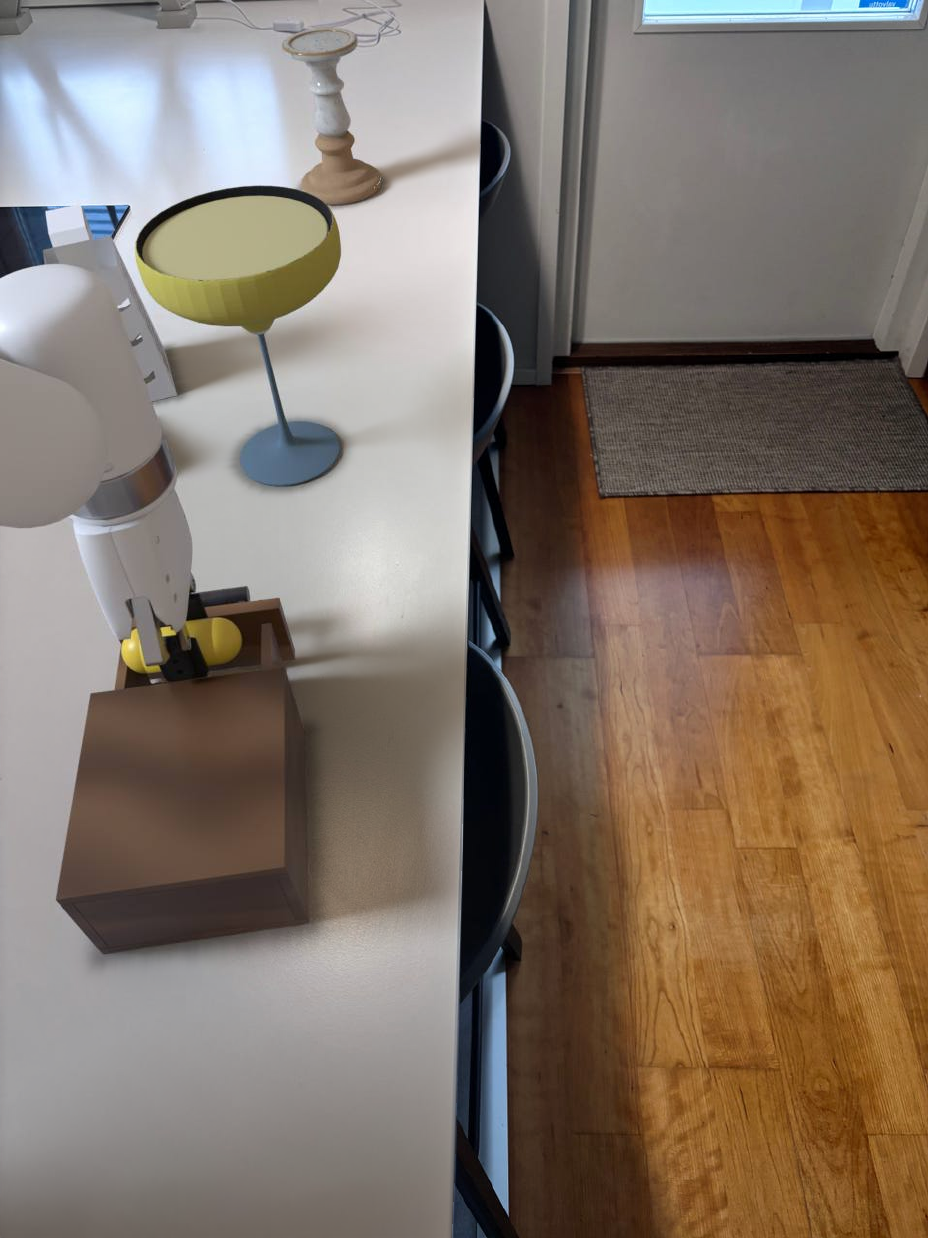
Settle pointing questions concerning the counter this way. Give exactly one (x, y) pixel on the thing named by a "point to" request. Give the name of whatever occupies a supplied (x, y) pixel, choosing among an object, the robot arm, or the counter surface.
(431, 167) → the counter surface
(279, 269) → the cocktail glass
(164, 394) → the grater
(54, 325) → the robot arm
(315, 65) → the candle holder
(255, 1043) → the counter surface
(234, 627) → the yellow pill capsule
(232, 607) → the drawer
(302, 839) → the cabinet
